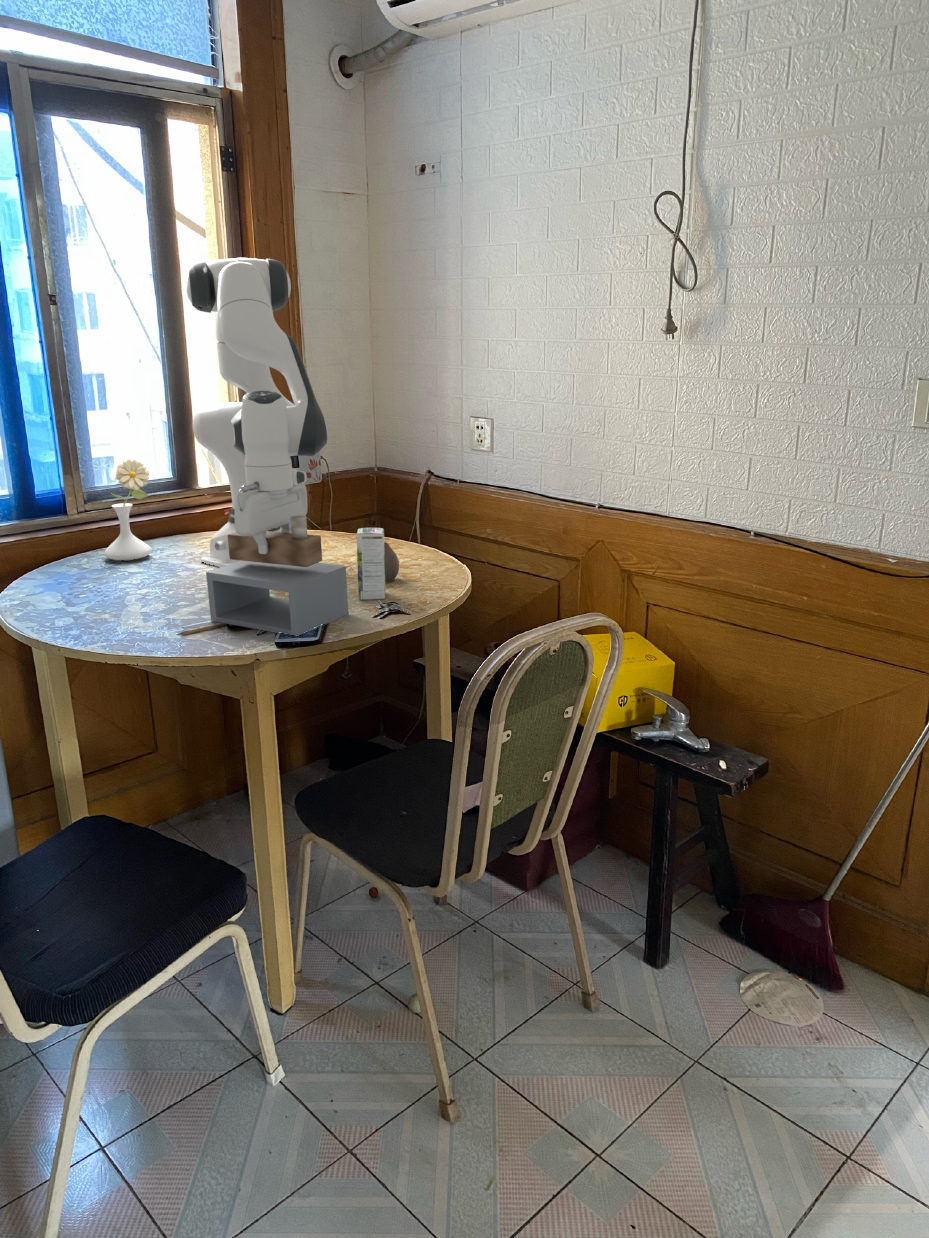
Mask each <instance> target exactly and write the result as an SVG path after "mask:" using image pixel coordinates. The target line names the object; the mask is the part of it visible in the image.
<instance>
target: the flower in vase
mask: <svg viewBox="0 0 929 1238" xmlns="http://www.w3.org/2000/svg"><path fill="white" fill-rule="evenodd" d="M149 477H150V471H149V470H147V468H146V467H145V466H144V463H142V462H141V461H137V460H135V459H134V460H131V459H127V460H125V461H123V462H122V463H120V464H118V465H117V467H116V471H115V480H117V481H118V482H117V483H119V484H120V486H121V487H122V488H126V489H129V492H128V493H129V494H128V495H127V497H126V498H125V497H124V496H122V495H119V494H116V493H112V492H111V491H110V495H112V496H113V497H115V498H117V499H122V500H124V503H116V504H112V505H111V507H112V509H114V511H115V513H116V514H117V518H118V522H119V529H120V530H119V531H120V533H119V535H118V537H116V539H115V540H114V541H113V542H111V543H110V545H108V547H107V548H106V549H105V550H104V553H103V554H104V556H105V557H106V559H109V560H112V561H121V560H124V561H135V560H139V559H142V557H143V558H145V557H147V556H149V555H150V554H151V553H152V548H151V547H150V545H149V544H147V543H146V542H144V541H143V540H141V539H139V538H138V537H137V536H135V535H134V534H133V533H132V531H131V528H130V511H131V509H132V507H133V503H128V502H127V501H128V500H129V498H130V495H131V497H133V498H134V499H136V500H142V499H145V498H147V497H149V494H147V492H145V491H144V490H141V488H143V487H145V486H147V485H148V482H149V481H148V480H149ZM132 490H133V491H132ZM134 559H135V560H134Z"/></svg>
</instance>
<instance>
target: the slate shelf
mask: <svg viewBox="0 0 929 1238" xmlns="http://www.w3.org/2000/svg"><path fill="white" fill-rule="evenodd" d="M205 574H206V576H205V577H206V585H207V593H208V604H209V614H210V621H212V622H217V623H222V624H227V625H233V626H238V627H244V628H250V629H254V630H261V631H266V632H269V633H270V632H271V633H276V634H280V633H279V632H282V633H287V634H291V635H297V636H298V635H301V634H303V633H304V632H306V631H309V630H310V629H313V628H314V627H317V626H319V625H321V624H325V625H327V624H330V623H332V622H333V621H337V620H339V619H341V618H343V617H345V616H347V615H349V602H348V601H349V600H348V587H347V586H348V584H347V583H348V582H347V566H346V565H338V564H331V563H324V562H318V563H316V564H313V565H311V566H309V567H300V566H290V565H280V564H270V563H261V562H251V561H239V562H236V563H233V564H230V565H227V566H224V567H218V568H215V569H212V570H208V571H206V572H205ZM270 590H271V591H279V592H284V593H288V598H287V599H286V598H280V597H273V596H271V595H270ZM291 635H290V636H291ZM303 635H304V634H303ZM297 636H296V637H297ZM301 636H302V635H301ZM298 637H299V636H298Z"/></svg>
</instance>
